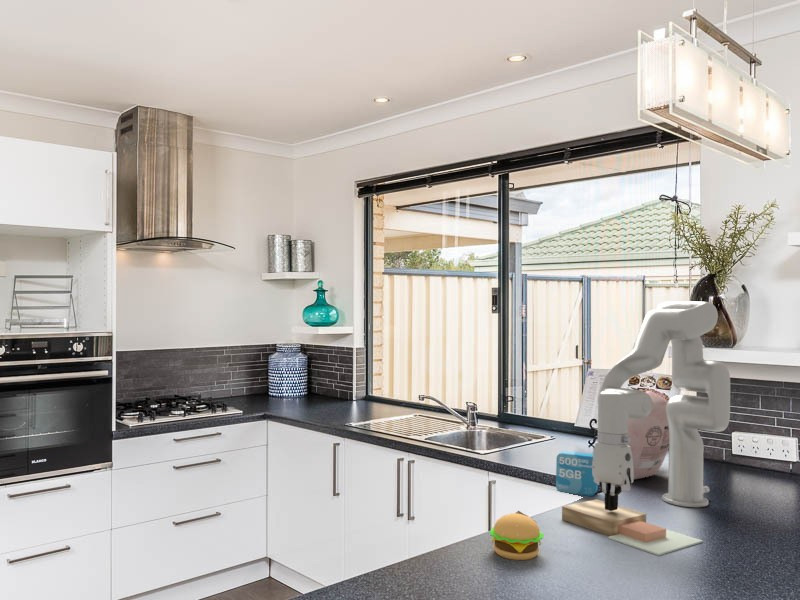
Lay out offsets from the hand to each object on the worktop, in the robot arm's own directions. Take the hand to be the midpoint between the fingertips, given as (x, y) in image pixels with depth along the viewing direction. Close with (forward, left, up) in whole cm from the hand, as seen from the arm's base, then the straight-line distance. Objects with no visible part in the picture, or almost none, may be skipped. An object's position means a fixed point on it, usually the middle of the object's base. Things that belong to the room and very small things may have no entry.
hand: (611, 509), depth 179 cm
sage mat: (0, +13, -4) cm, 14 cm away
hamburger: (+36, +2, -5) cm, 36 cm away
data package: (-19, -27, -4) cm, 34 cm away
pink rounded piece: (-53, -29, -4) cm, 61 cm away
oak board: (0, -2, -4) cm, 5 cm away
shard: (+19, -15, -5) cm, 25 cm away
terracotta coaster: (+1, +10, -4) cm, 11 cm away
